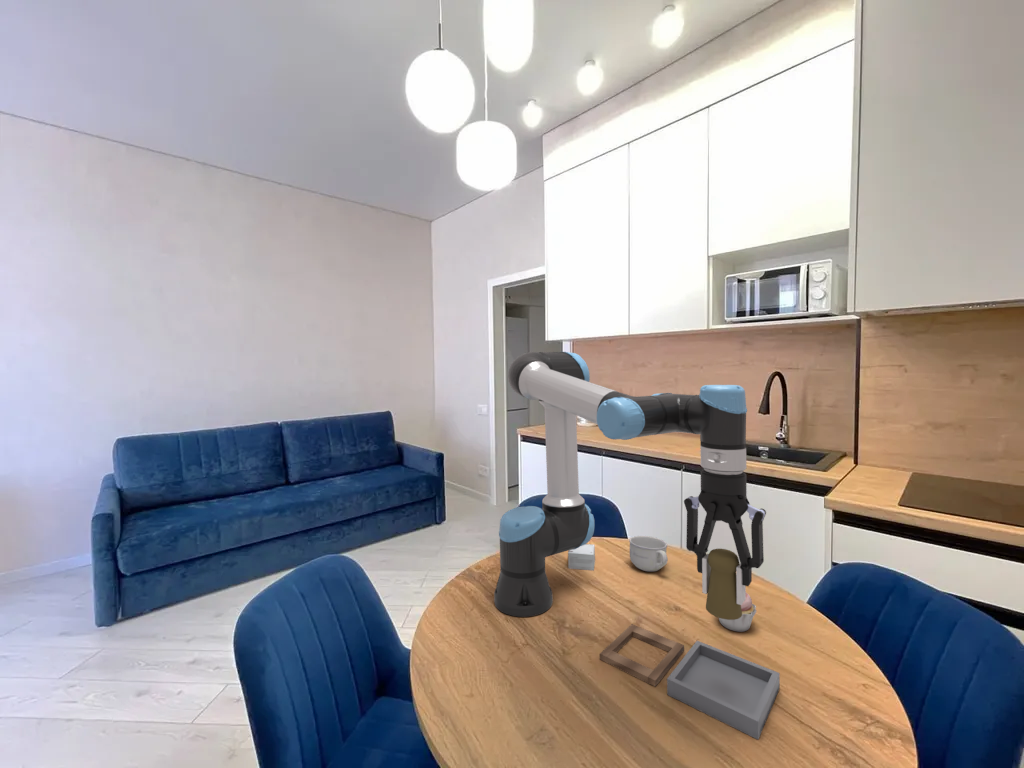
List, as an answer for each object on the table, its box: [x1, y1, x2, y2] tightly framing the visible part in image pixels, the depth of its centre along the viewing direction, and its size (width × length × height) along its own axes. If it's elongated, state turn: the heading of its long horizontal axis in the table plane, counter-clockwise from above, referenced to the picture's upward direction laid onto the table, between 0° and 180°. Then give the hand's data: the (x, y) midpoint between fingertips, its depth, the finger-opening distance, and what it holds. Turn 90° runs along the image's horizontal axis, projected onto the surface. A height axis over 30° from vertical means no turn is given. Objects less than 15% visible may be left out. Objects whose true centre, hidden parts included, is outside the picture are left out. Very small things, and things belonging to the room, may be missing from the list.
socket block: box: [599, 623, 685, 687], centre depth 92 cm, size 12×14×1 cm
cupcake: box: [718, 592, 757, 633], centre depth 102 cm, size 9×9×10 cm
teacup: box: [628, 535, 668, 573], centre depth 131 cm, size 14×11×8 cm
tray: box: [666, 640, 781, 740], centre depth 81 cm, size 15×15×3 cm
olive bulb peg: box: [705, 548, 742, 620], centre depth 81 cm, size 6×6×11 cm
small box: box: [567, 543, 596, 572], centre depth 135 cm, size 8×8×5 cm
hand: (723, 595), depth 81 cm, fingers closed on olive bulb peg, 5 cm apart
